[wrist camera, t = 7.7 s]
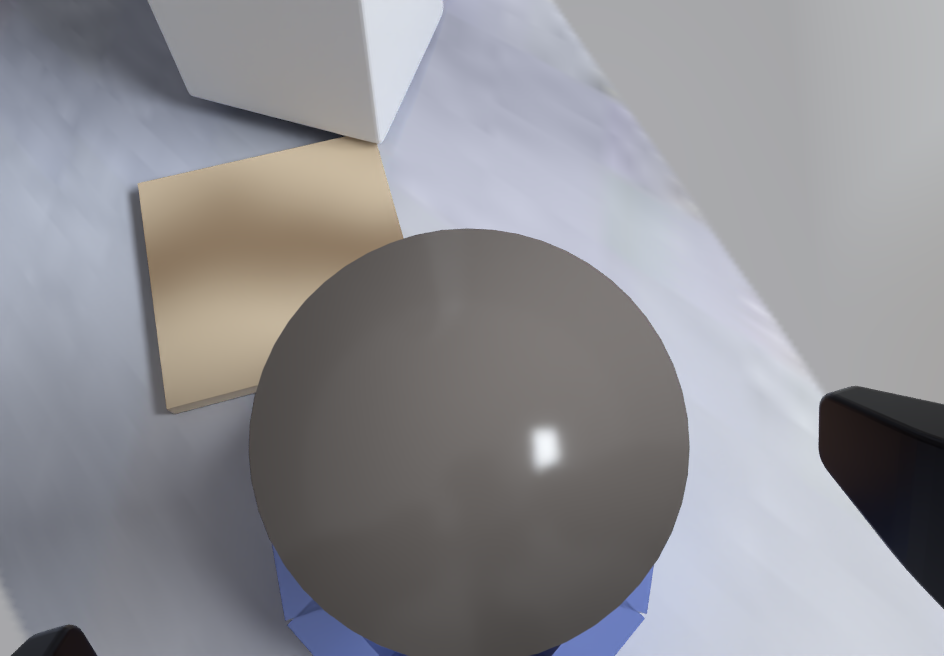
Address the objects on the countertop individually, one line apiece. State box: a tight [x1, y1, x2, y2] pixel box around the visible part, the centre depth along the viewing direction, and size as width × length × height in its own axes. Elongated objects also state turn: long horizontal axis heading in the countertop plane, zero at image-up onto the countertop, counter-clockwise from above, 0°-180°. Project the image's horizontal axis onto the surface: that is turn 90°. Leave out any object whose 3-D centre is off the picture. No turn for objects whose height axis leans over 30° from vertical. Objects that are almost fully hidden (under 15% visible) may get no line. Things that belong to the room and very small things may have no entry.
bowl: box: [272, 544, 654, 656], centre depth 18 cm, size 9×9×4 cm
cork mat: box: [138, 136, 403, 414], centre depth 22 cm, size 8×8×1 cm
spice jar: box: [249, 229, 689, 656], centre depth 13 cm, size 5×5×12 cm
